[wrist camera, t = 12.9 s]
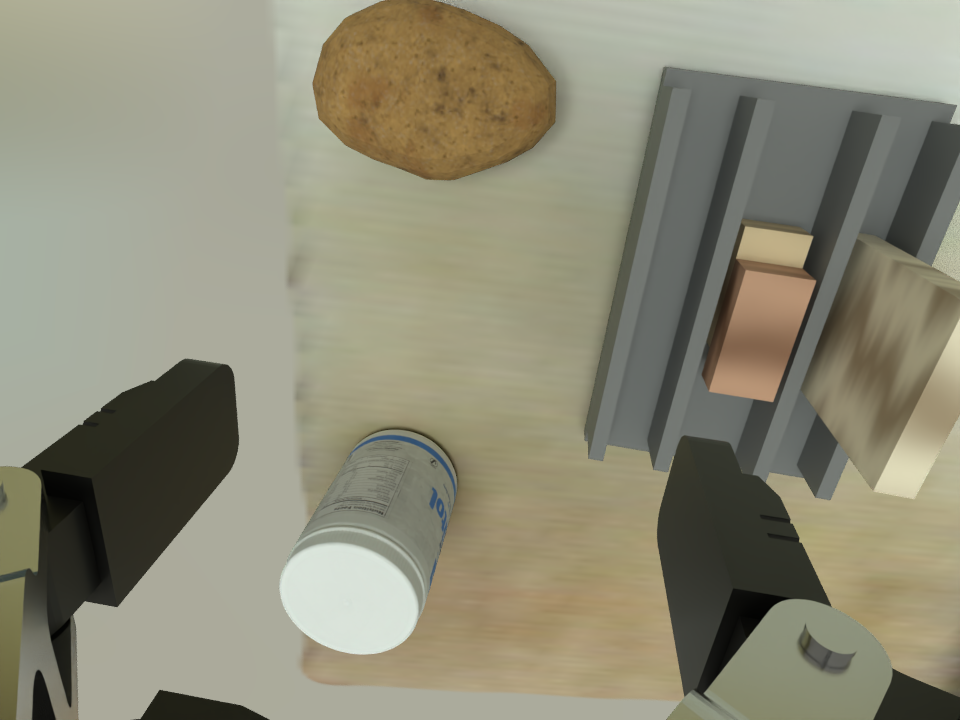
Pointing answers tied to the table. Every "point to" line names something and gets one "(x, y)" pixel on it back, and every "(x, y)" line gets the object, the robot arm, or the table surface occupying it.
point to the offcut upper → (756, 329)
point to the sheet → (889, 365)
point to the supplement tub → (372, 545)
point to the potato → (432, 89)
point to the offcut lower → (765, 251)
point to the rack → (711, 238)
